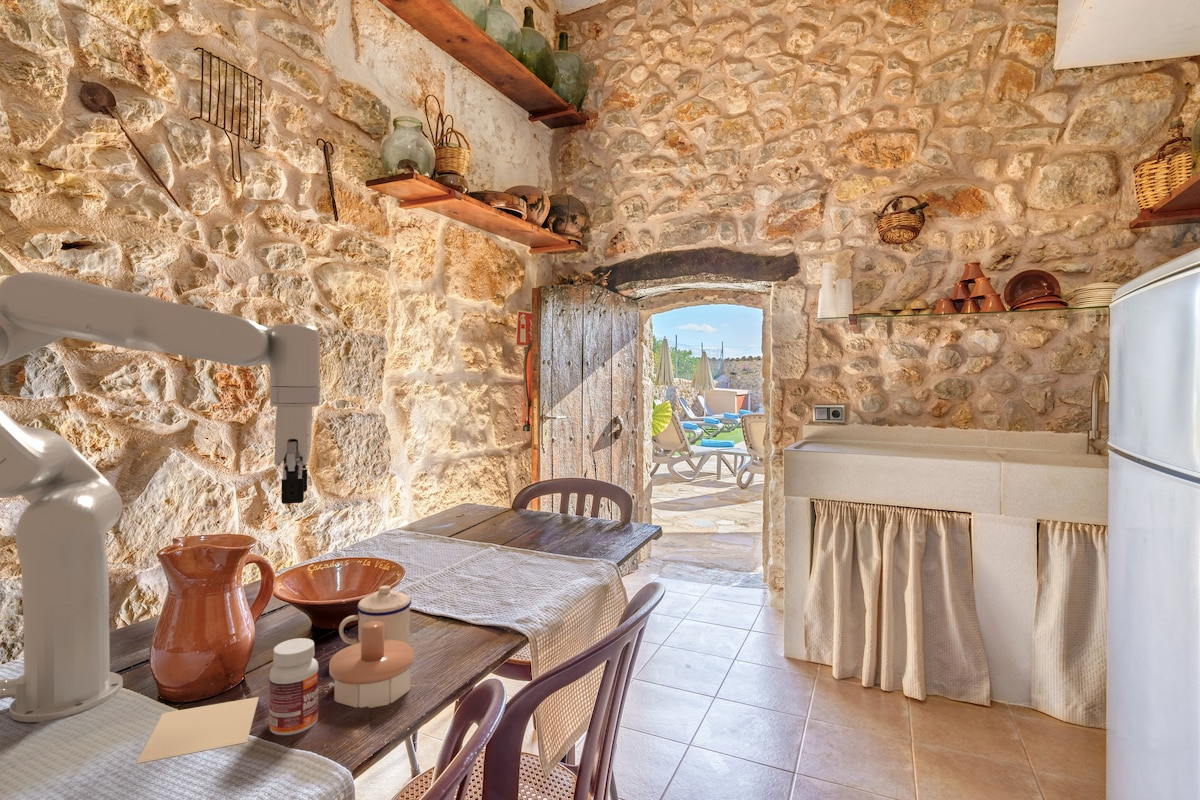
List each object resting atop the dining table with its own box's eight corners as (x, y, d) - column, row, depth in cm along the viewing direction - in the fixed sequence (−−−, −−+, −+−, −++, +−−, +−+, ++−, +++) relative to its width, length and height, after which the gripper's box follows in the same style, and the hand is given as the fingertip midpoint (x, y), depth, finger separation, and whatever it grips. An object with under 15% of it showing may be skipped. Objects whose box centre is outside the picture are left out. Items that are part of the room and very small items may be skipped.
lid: (328, 691, 85) (328, 648, 85) (330, 653, 96) (330, 616, 96) (417, 675, 90) (418, 635, 90) (409, 641, 101) (410, 605, 101)
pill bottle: (312, 735, 81) (312, 654, 81) (263, 740, 80) (262, 657, 79) (322, 710, 87) (323, 634, 87) (276, 715, 86) (277, 638, 85)
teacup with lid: (405, 636, 113) (405, 575, 112) (415, 656, 105) (416, 591, 104) (336, 649, 107) (336, 585, 106) (341, 671, 99) (342, 602, 98)
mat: (136, 766, 74) (136, 763, 74) (163, 715, 85) (163, 712, 85) (246, 744, 79) (246, 742, 79) (258, 699, 90) (258, 696, 90)
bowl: (333, 714, 86) (334, 687, 86) (335, 679, 96) (335, 654, 96) (412, 699, 91) (413, 674, 90) (405, 667, 101) (406, 644, 100)
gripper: (275, 395, 107) (275, 489, 108) (263, 399, 91) (263, 509, 92) (321, 395, 110) (321, 487, 111) (317, 399, 94) (317, 506, 95)
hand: (295, 497), depth 101 cm, fingers open, 9 cm apart
